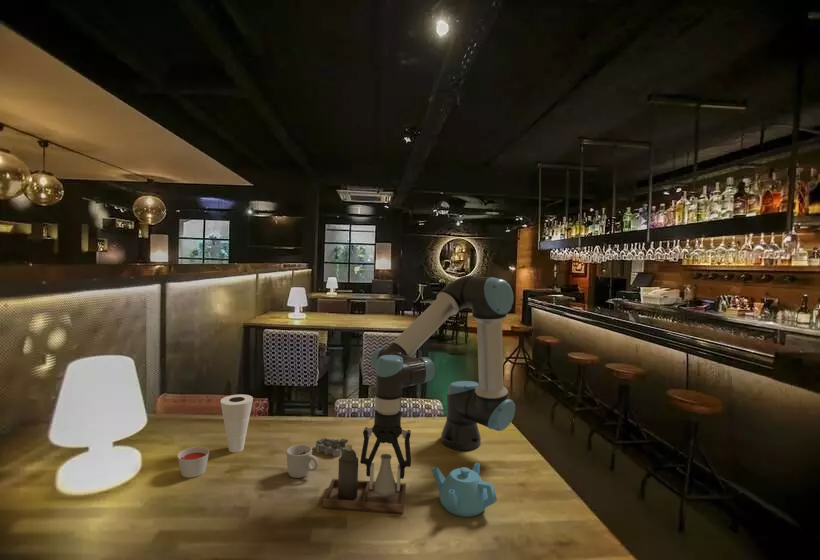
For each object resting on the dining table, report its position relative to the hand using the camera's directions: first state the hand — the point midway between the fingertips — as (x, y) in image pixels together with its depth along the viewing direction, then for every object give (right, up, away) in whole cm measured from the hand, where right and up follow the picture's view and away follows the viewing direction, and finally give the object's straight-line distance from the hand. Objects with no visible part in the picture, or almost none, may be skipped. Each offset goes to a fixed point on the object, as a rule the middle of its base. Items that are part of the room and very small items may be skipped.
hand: (384, 487), depth 127 cm
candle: (-61, -1, +11) cm, 62 cm away
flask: (0, -1, 0) cm, 1 cm away
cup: (-27, -2, +13) cm, 30 cm away
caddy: (-6, -4, +1) cm, 7 cm away
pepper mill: (-11, -3, +1) cm, 11 cm away
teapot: (+22, -5, 0) cm, 23 cm away
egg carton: (-21, -1, +30) cm, 37 cm away
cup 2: (-54, 0, +28) cm, 61 cm away
